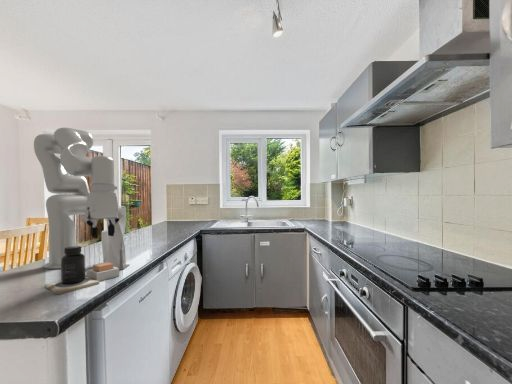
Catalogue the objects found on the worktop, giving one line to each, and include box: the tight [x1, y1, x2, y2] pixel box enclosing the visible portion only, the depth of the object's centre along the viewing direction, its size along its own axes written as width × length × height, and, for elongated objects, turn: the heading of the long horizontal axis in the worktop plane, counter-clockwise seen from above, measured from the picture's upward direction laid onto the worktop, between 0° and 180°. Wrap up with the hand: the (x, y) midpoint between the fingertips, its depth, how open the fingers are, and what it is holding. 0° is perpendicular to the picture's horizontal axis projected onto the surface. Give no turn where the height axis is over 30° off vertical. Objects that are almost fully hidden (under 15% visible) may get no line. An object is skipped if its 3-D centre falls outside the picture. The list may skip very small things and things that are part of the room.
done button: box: [92, 262, 113, 272], centre depth 100 cm, size 5×5×2 cm
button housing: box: [86, 266, 120, 282], centre depth 100 cm, size 8×8×3 cm
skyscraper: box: [106, 205, 130, 271], centre depth 113 cm, size 8×8×28 cm
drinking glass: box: [100, 229, 110, 263], centre depth 121 cm, size 7×7×15 cm
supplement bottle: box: [60, 245, 86, 285], centre depth 92 cm, size 7×7×12 cm
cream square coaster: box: [44, 275, 100, 295], centre depth 91 cm, size 12×12×1 cm
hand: (103, 236), depth 100 cm, fingers open, 5 cm apart
